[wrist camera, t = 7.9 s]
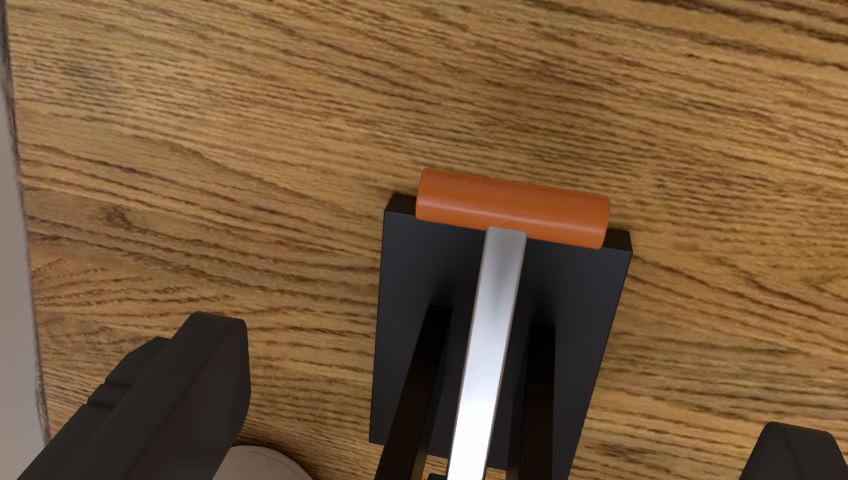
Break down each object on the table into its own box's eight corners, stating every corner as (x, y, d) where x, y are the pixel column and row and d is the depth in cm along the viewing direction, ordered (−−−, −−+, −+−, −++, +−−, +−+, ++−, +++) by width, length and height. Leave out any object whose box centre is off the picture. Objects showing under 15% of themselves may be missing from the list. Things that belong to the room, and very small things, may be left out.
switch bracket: (392, 192, 26) (282, 404, 16) (629, 231, 25) (674, 483, 15) (376, 419, 32) (288, 678, 22) (566, 458, 31) (567, 747, 21)
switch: (430, 166, 20) (418, 169, 17) (603, 193, 19) (615, 200, 17) (373, 543, 22) (355, 592, 19) (529, 578, 21) (530, 632, 19)
